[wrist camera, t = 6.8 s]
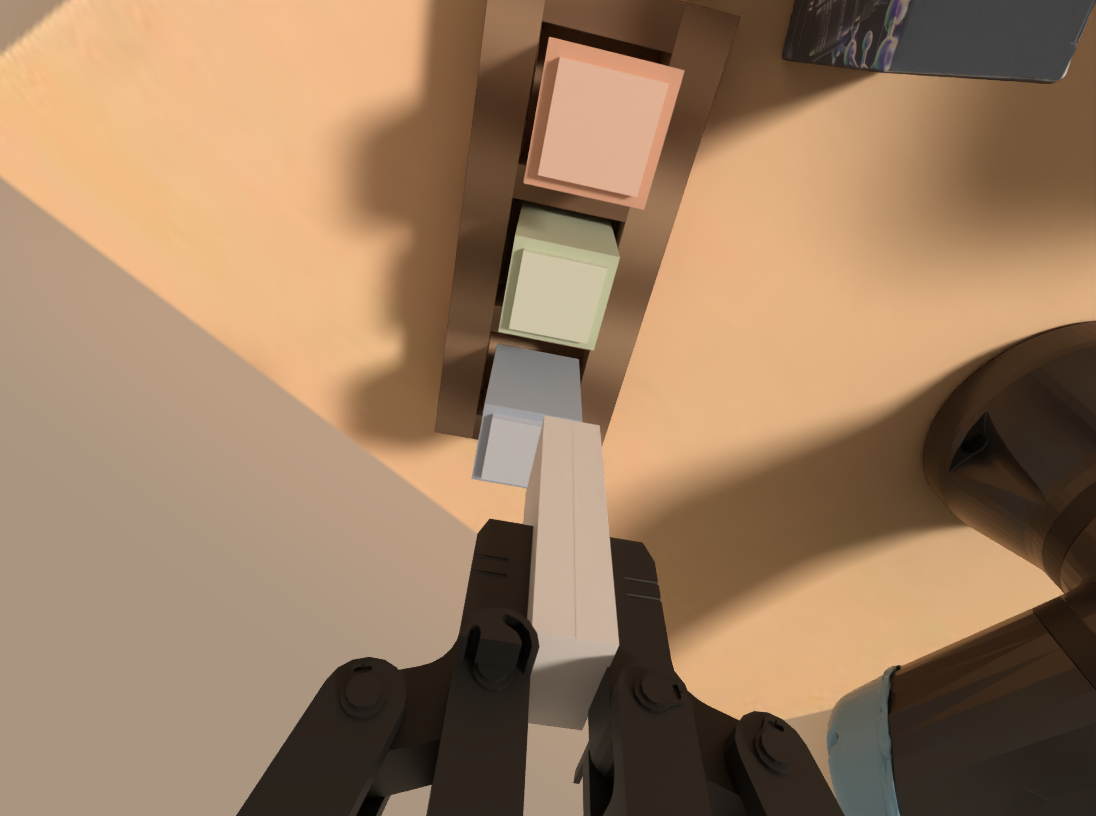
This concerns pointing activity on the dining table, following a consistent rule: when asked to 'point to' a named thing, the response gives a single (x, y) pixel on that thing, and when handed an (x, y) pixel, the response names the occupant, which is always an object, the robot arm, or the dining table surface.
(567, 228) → the sage button
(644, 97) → the salmon pink block
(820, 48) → the box
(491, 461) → the slate button
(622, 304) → the wooden tray
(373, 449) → the dining table surface
